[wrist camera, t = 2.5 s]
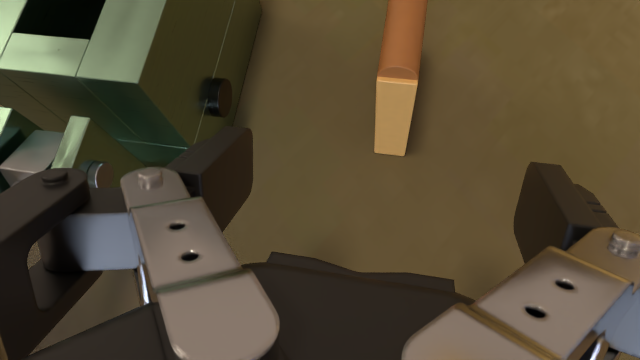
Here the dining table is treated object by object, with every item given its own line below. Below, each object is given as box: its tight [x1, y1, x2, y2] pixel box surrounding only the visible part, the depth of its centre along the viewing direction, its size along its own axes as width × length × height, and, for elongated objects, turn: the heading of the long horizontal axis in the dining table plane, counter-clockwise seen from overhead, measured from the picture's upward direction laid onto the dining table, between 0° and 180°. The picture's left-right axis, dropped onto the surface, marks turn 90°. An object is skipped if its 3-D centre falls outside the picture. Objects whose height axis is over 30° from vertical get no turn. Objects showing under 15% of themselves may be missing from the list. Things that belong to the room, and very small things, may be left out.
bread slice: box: [374, 0, 428, 156], centre depth 28 cm, size 8×2×10 cm, turn 170°
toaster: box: [0, 0, 262, 168], centre depth 29 cm, size 14×11×12 cm
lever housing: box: [0, 107, 147, 193], centre depth 26 cm, size 6×7×11 cm
